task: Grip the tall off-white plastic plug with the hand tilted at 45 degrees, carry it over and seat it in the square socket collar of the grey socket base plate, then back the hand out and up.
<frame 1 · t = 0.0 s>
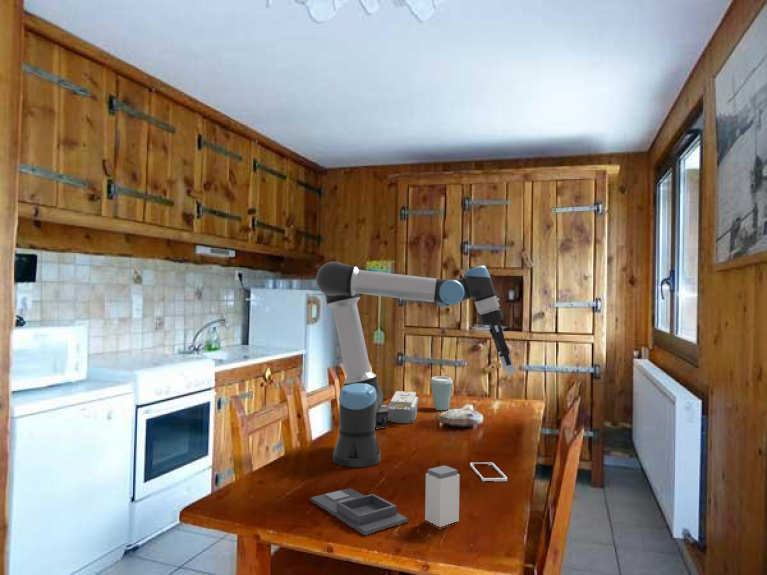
hand: (509, 372, 178), 28 cm above the table, tool tilted 20°, fingers open, 13 cm apart
plug: (441, 521, 125), on the table
electrical switch: (376, 429, 213), on the table
silver rectangular frame: (487, 475, 160), on the table
electrical outlet: (403, 419, 231), on the table
grey socket base plate: (356, 511, 130), on the table
disposable coffee cup: (441, 410, 251), on the table
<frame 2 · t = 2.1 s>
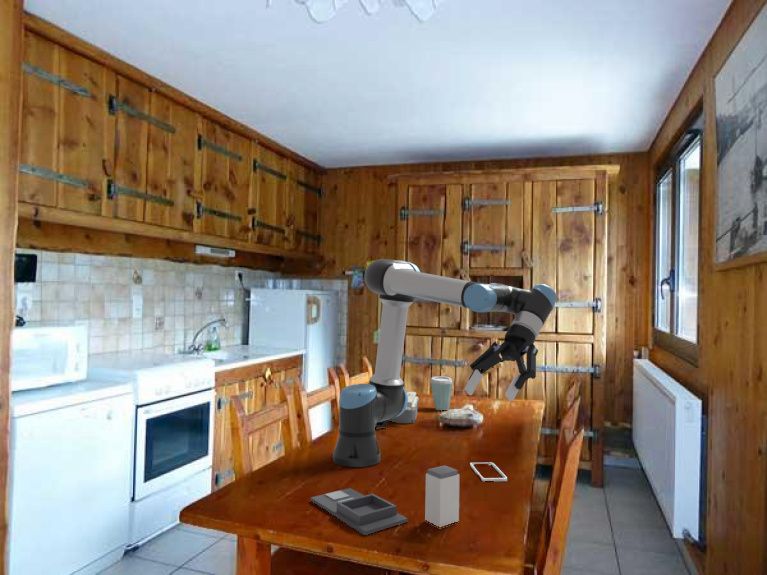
hand: (487, 395, 135), 28 cm above the table, tool tilted 45°, fingers open, 13 cm apart
nothing on the table moved.
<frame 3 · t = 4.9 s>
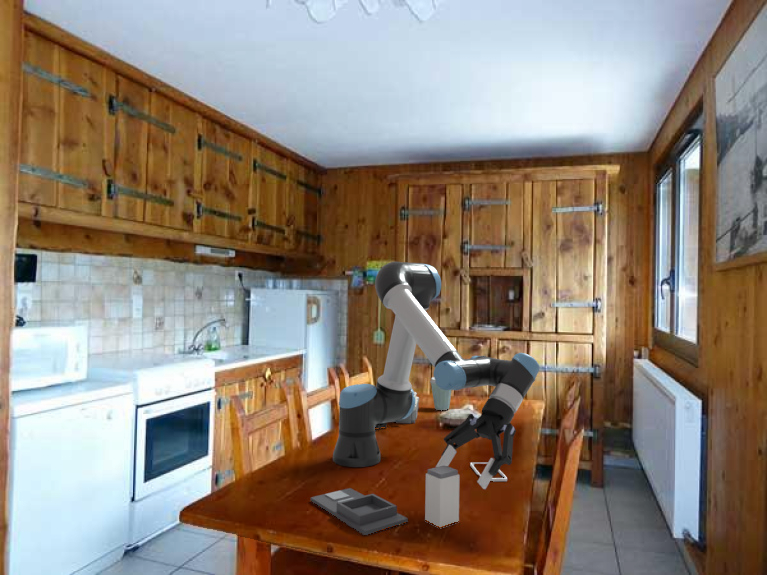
hand: (459, 477, 126), 10 cm above the table, tool tilted 45°, fingers open, 13 cm apart
nothing on the table moved.
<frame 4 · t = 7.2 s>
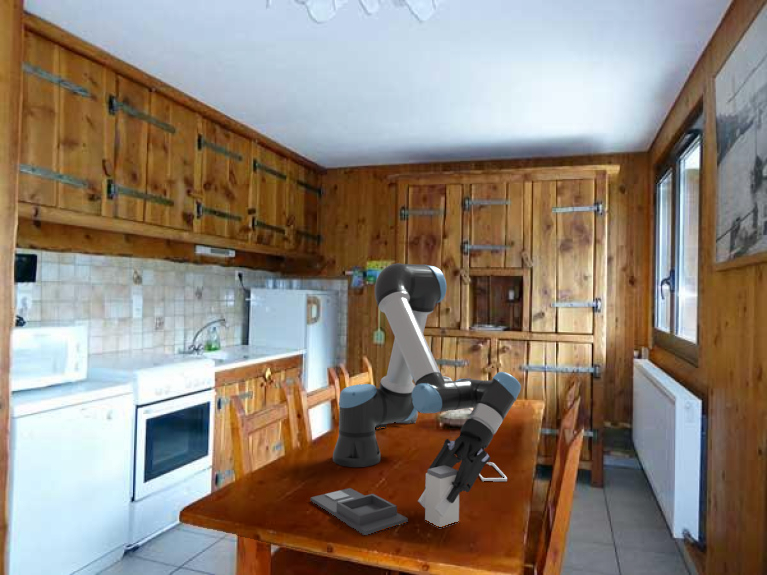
hand: (430, 508, 122), 4 cm above the table, tool tilted 45°, fingers closed on plug, 5 cm apart
plug: (441, 521, 125), on the table, touching gripper
everything else where it was.
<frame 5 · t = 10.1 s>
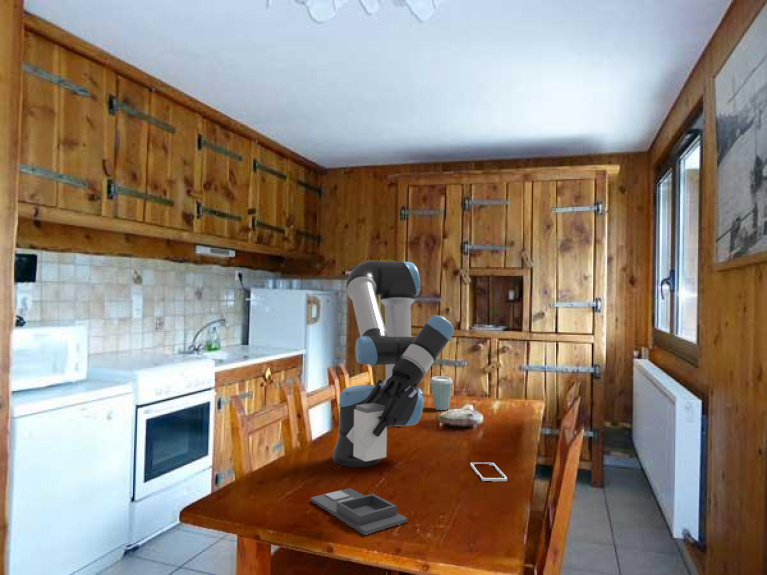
hand: (357, 442, 124), 18 cm above the table, tool tilted 45°, fingers closed on plug, 5 cm apart
plug: (369, 456, 127), point 14 cm above the table, touching gripper
everything else where it was.
when the fingers open (6 cm above the table, at t = 13.1 s): plug drops 1 cm, resting on grey socket base plate.
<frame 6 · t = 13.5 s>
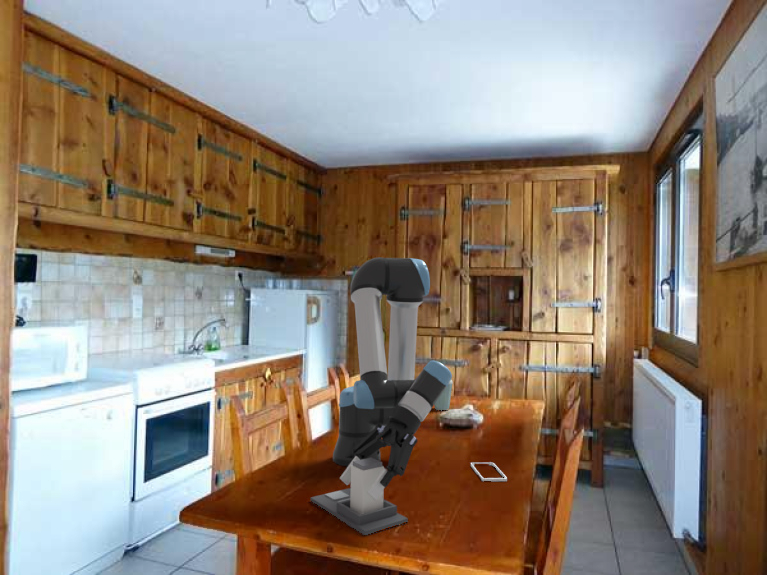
hand: (357, 489, 125), 7 cm above the table, tool tilted 45°, fingers open, 11 cm apart
plug: (366, 512, 126), point 1 cm above the table, touching grey socket base plate
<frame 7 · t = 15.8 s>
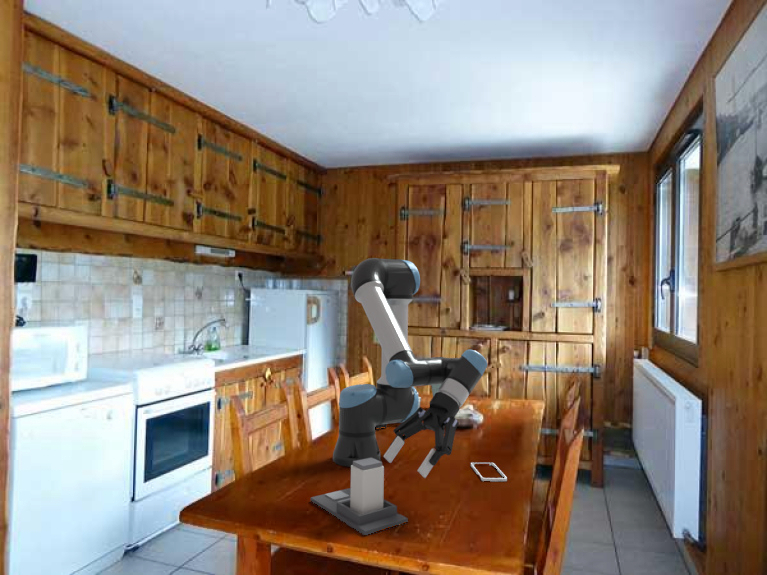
hand: (403, 466, 133), 10 cm above the table, tool tilted 45°, fingers open, 13 cm apart
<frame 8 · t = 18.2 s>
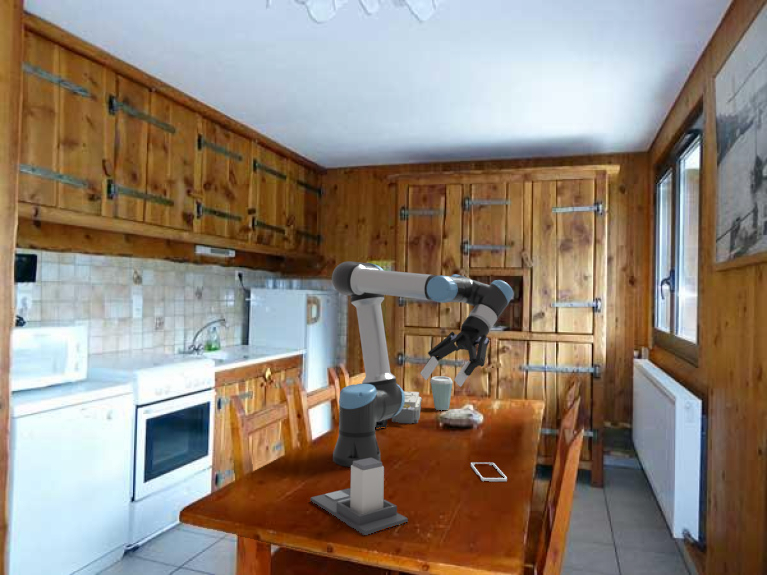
hand: (439, 379, 146), 30 cm above the table, tool tilted 45°, fingers open, 13 cm apart
at the end: plug 0.0 cm from the target spot on the grey socket base plate, point 1.0 cm above the grey socket base plate's base; plug tilted 0°; the gripper is holding nothing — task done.
